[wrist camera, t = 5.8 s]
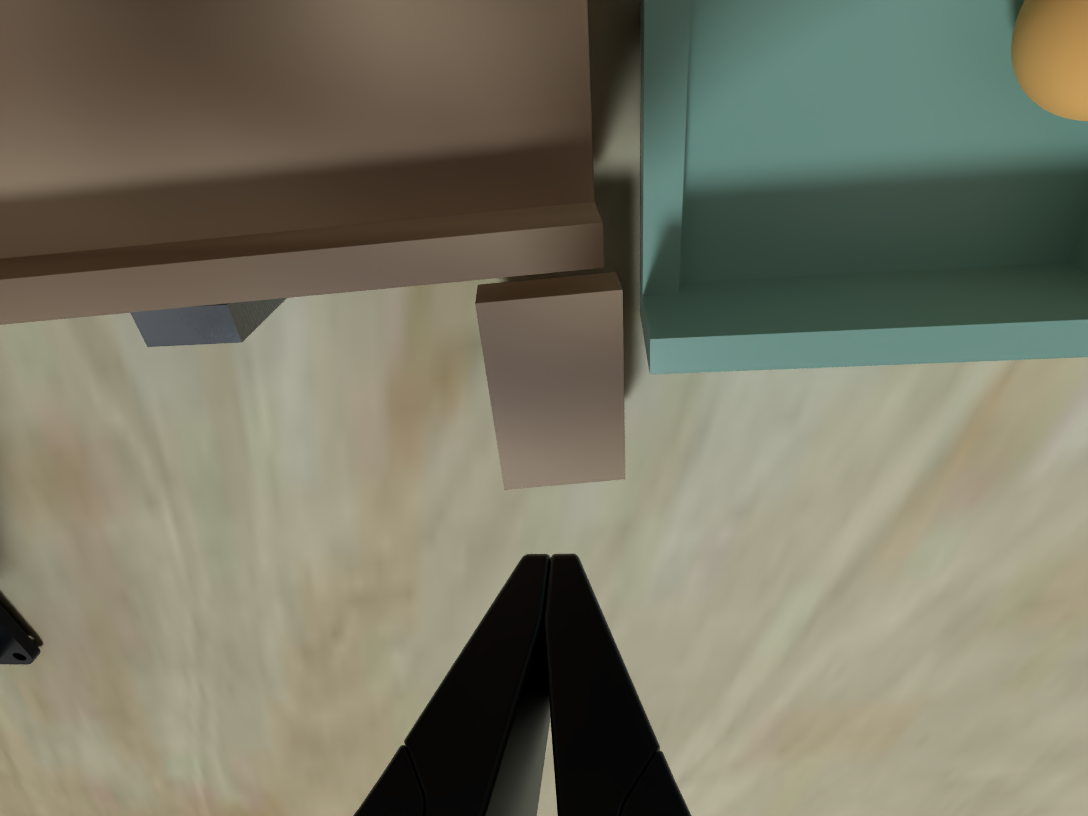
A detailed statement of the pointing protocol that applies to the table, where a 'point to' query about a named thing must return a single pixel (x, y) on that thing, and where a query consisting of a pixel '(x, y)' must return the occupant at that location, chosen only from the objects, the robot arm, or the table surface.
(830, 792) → the table surface
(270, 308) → the fulcrum
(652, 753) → the robot arm
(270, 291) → the chute
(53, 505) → the table surface
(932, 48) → the tray
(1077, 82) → the ball
